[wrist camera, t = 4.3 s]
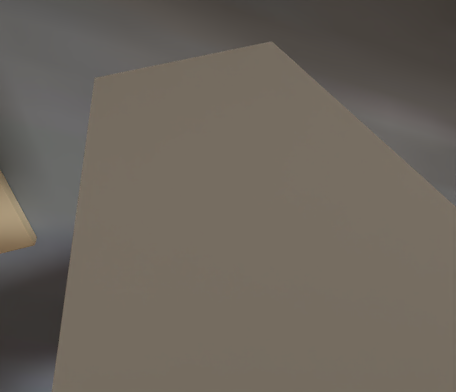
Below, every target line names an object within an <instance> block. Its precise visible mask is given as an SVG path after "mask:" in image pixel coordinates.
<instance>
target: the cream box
mask: <svg viewBox="0 0 456 392" xmlns="http://www.w3.org/2000/svg"><path fill="white" fill-rule="evenodd" d="M52 392H456V207H455V206H454V205H453V204H452V203H451V202H450V201H448V200H447V199H446V198H445V197H444V196H443V195H442V194H441V193H440V192H438V191H437V190H436V189H435V188H434V187H433V186H432V185H431V184H430V183H428V182H427V181H426V180H425V179H424V178H423V177H422V176H421V175H420V174H418V173H417V172H416V171H415V170H414V169H413V168H412V167H411V166H410V165H408V164H407V163H406V162H405V161H404V160H403V159H402V158H401V157H400V156H398V155H397V154H396V153H395V152H394V151H393V150H392V149H391V148H390V147H388V146H387V145H386V144H385V143H384V142H383V141H382V140H381V139H380V138H378V137H377V136H376V135H375V134H374V133H373V132H372V131H371V130H370V129H368V128H367V127H366V126H365V125H364V124H363V123H362V122H361V121H360V120H358V119H357V118H356V117H355V116H354V115H353V114H352V113H351V112H350V111H348V110H347V109H346V108H345V107H344V106H343V105H342V104H341V103H340V102H338V101H337V100H336V99H335V98H334V97H333V96H332V95H331V94H330V93H328V92H327V91H326V90H325V89H324V88H323V87H322V86H321V85H320V84H318V83H317V82H316V81H315V80H314V79H313V78H312V77H311V76H310V75H308V74H307V73H306V72H305V71H304V70H303V69H302V68H301V67H300V66H298V65H297V64H296V63H295V62H294V61H293V60H292V59H291V58H290V57H288V56H287V55H286V54H285V53H284V52H283V51H282V50H281V49H280V48H278V47H277V46H276V45H275V44H274V43H273V42H267V43H262V44H257V45H252V46H247V47H243V48H238V49H233V50H228V51H223V52H218V53H214V54H209V55H204V56H199V57H194V58H189V59H184V60H180V61H175V62H170V63H165V64H160V65H155V66H151V67H146V68H141V69H136V70H131V71H126V72H122V73H117V74H112V75H107V76H102V77H97V78H95V80H94V88H93V95H92V102H91V110H90V117H89V124H88V132H87V139H86V146H85V153H84V161H83V168H82V175H81V183H80V190H79V197H78V205H77V212H76V219H75V226H74V234H73V241H72V248H71V256H70V263H69V270H68V278H67V285H66V292H65V300H64V307H63V314H62V321H61V329H60V336H59V343H58V351H57V358H56V365H55V373H54V380H53V387H52Z"/></svg>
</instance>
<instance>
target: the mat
mask: <svg viewBox="0 0 456 392" xmlns="http://www.w3.org/2000/svg"><path fill="white" fill-rule="evenodd" d="M36 238H37V237H36V235H35V233H34V231H33V230H32V228H31V226H30V224H29V222H28V220H27V218H26V217H25V215H24V213H23V211H22V209H21V207H20V205H19V203H18V202H17V200H16V198H15V196H14V194H13V192H12V190H11V189H10V187H9V185H8V183H7V181H6V179H5V177H4V175H3V174H2V172H1V170H0V254H1V253H5V252H9V251H13V250H17V249H21V248H25V247H29V246H33V245H35V242H36Z"/></svg>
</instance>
